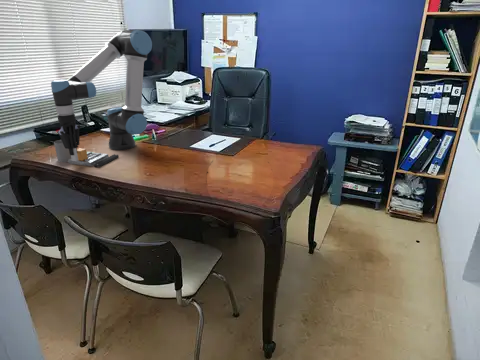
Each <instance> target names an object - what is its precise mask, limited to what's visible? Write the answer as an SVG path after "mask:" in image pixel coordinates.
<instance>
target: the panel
mask: <svg viewBox="0 0 480 360" xmlns="http://www.w3.org/2000/svg"><path fill="white" fill-rule="evenodd" d="M87 157H88V158H87V159H85V160H83V161H80V160H78V161H72V159H69V160H68V162H67V163H68V164H71V165H79V166H86V167H94V164H95V163H97V162H99V161H101V160H103V159H105V158H108V157H110V155H109V154H108V153H102V152H93V151H87Z"/></svg>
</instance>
